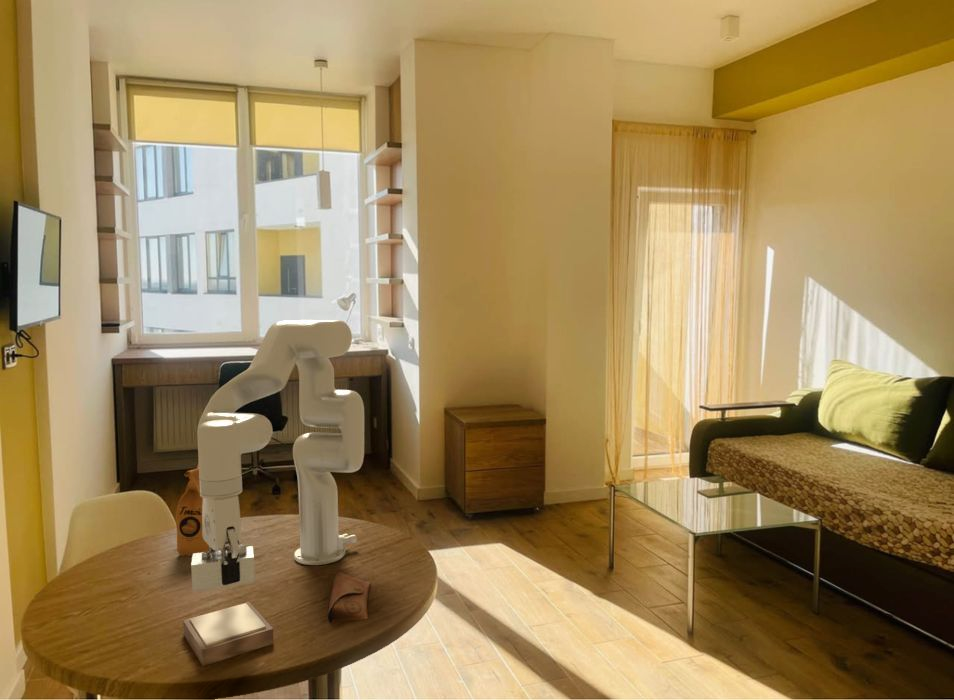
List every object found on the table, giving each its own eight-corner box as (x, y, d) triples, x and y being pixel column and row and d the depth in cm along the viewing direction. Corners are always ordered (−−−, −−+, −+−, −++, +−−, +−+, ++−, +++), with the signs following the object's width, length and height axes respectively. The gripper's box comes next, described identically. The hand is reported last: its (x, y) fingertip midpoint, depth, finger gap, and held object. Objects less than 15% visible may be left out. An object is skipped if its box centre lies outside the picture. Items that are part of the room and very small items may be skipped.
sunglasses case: (370, 619, 141) (352, 593, 140) (340, 638, 140) (322, 612, 139) (371, 581, 158) (355, 558, 157) (345, 598, 158) (329, 575, 157)
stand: (249, 615, 143) (249, 599, 142) (273, 643, 131) (272, 626, 131) (183, 634, 135) (182, 618, 135) (202, 666, 124) (201, 648, 123)
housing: (194, 578, 133) (192, 547, 132) (253, 570, 137) (252, 540, 136) (192, 591, 127) (190, 558, 127) (254, 582, 131) (253, 551, 130)
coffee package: (170, 557, 174) (165, 472, 172) (191, 539, 186) (187, 460, 184) (209, 557, 173) (205, 472, 171) (228, 539, 186) (224, 460, 184)
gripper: (188, 479, 135) (192, 566, 137) (213, 500, 121) (217, 597, 123) (227, 472, 140) (231, 557, 141) (255, 492, 126) (259, 586, 127)
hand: (224, 575), depth 132 cm, fingers closed on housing, 7 cm apart
